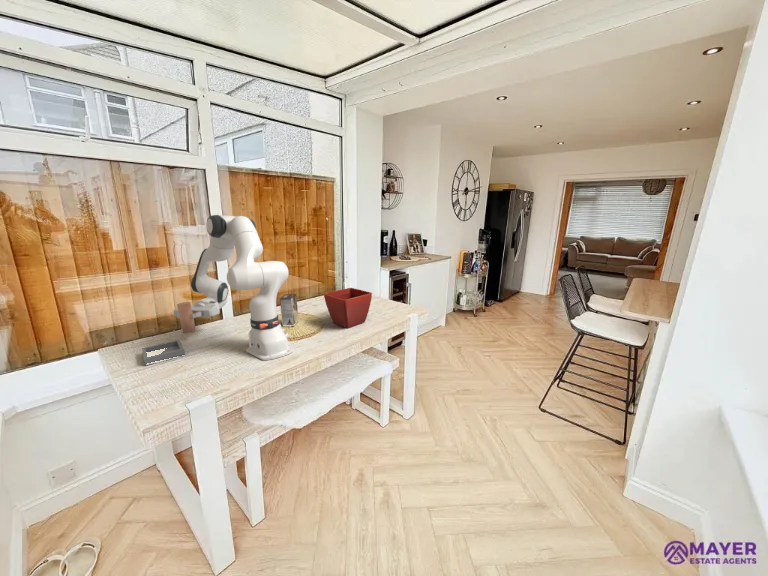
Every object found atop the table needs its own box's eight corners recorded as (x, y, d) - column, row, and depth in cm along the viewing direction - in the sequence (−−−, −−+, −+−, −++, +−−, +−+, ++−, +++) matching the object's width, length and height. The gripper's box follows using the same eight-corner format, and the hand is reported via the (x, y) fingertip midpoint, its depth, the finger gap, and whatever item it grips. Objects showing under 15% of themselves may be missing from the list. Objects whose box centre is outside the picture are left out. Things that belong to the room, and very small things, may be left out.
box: (185, 355, 139) (184, 349, 138) (145, 366, 130) (143, 359, 129) (180, 345, 150) (179, 339, 149) (143, 354, 141) (141, 348, 140)
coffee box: (287, 321, 178) (285, 293, 174) (299, 321, 178) (296, 293, 174) (282, 327, 169) (279, 298, 166) (294, 327, 169) (291, 298, 165)
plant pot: (352, 314, 187) (350, 287, 183) (373, 322, 174) (372, 292, 170) (324, 323, 174) (322, 293, 170) (346, 332, 161) (344, 300, 157)
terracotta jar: (196, 331, 154) (191, 303, 151) (183, 334, 151) (177, 306, 148) (194, 328, 159) (189, 301, 155) (181, 331, 155) (176, 303, 152)
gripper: (183, 302, 166) (163, 310, 152) (220, 302, 164) (203, 310, 150) (186, 313, 167) (166, 322, 154) (222, 313, 165) (205, 322, 152)
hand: (184, 316), depth 152 cm, fingers closed on terracotta jar, 5 cm apart
